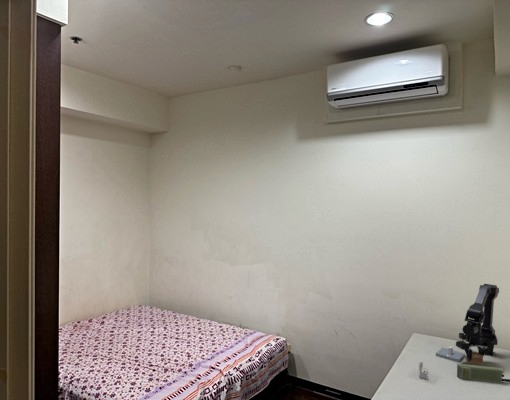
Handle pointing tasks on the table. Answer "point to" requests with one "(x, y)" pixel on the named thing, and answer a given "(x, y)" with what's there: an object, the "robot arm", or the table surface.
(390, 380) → the table surface
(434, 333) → the table surface
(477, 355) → the taped cardboard box
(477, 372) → the handheld radio
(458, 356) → the light switch plate
